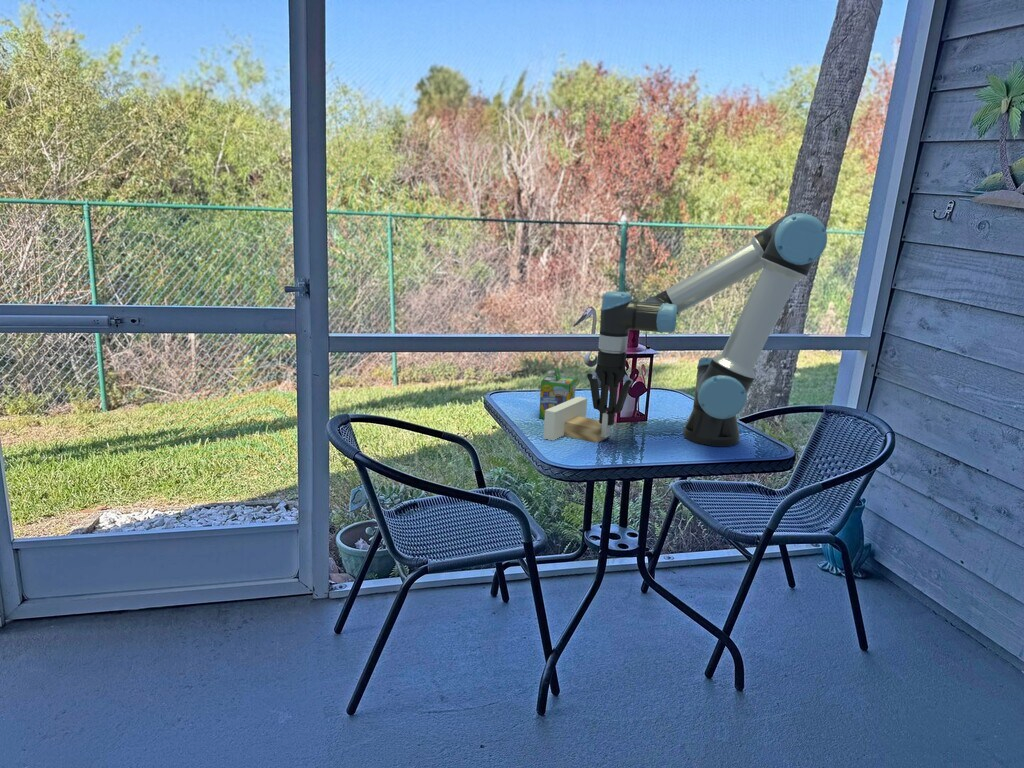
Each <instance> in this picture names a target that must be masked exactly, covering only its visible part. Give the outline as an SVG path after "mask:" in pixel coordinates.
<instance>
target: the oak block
mask: <svg viewBox="0 0 1024 768" xmlns="http://www.w3.org/2000/svg"><path fill="white" fill-rule="evenodd" d="M601 429H602V424H600V423H599V420H598V419H594V418H590V417H586V418H585V417H581V416H577V417H575V418H572V419H570V420H568V421H566V422H565V429H564V435H565V436H564V437H568V436H569V438H572V437H573V439H577V438H578V440H581V439H582V440H581V441H586V442H591V443H596V444H598V443H600V442H602V441H604V440H605V439H607V438H609V437H610V435H609V436H608V437H601Z"/></svg>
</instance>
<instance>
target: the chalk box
mask: <svg viewBox="0 0 1024 768" xmlns="http://www.w3.org/2000/svg"><path fill="white" fill-rule="evenodd" d="M559 368H560V367H559V366H557V367H556V368H554V374H555V376H553V375H547V376H545V377H544V378H542V380H541V381H540V395H539V397H540V398H539V414H538V415H539V417H538V419H540V420H541V419H543V420H545V410H547V409H549V408H552V407H554V406H556V405H559V404H561V403H564V402H566V401H568V400H571V399H573V398H576V385H577V384H576V383H577V379H576V378H572V377H571V378H570V377H564V376H561V375H560V374H561V373H560V369H559Z"/></svg>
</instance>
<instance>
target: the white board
mask: <svg viewBox="0 0 1024 768" xmlns="http://www.w3.org/2000/svg"><path fill="white" fill-rule="evenodd" d="M587 407H588V398H587V397H585V396H575V398H573V399H571V400H568V401H566V402H564V403H561V404H559V405H556V406H554V407H552V408H549V409H547V410H545V419H543V420H544V423H543V435H542V439H543V440H546V439H548V440H547V441H551V440H552V442H554V441H556V440H558V439H560V438H562V437H563V436H564V429H565V422H566V421H568V420H570V419H572V418H575V417H577V416H581V417H585V418H587ZM561 436H562V437H561ZM559 437H560V438H559ZM564 437H565V436H564ZM557 438H558V439H557ZM555 439H556V440H555ZM553 440H554V441H553Z"/></svg>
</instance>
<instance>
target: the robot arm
mask: <svg viewBox="0 0 1024 768" xmlns="http://www.w3.org/2000/svg"><path fill="white" fill-rule="evenodd" d="M827 243H828V233H827V229H826V227H825V225H824V224H823V222H822V221H821V220H820V219H818V218H817V217H815V216H813V215H812V214H807V213H805V212H800V213H799V212H798V213H792V214H786V215H784V216H781V217H780V218H778V219H777V220H776V221H775V222H773V223H772V224H771V225H769V226H768V227H766V228H765V229H764V230H762V231H760V232H759V233H757V234H755V235H753V236H752V238H751V240H750V242H748V243H747V244H745V245H743V246H742V247H740V248H738V249H736V250H734V251H733V252H731V253H729V254H727V255H725V256H723V257H722V258H720V259H718V260H716V261H714V262H713V263H712V264H709V265H707V266H706V267H703V269H700V270H698V271H697V272H695V273H693V274H691V275H690V276H688V277H686V278H684V279H683V280H681V281H679V282H677V283H675V284H674V285H671V286H670V287H668V288H667V289H664V290H663V291H661V292H659V293H657V294H655V295H653V296H650V297H649V298H646V299H645V301H637V300H633V298H632V294H631V293H630V292H626V291H625V292H624V291H607V292H605V293H604V294H603V296H602V302H601V307H600V308H601V309H600V319H599V320H600V322H599V324H600V325H599V335H598V349H599V350H598V351H597V362H596V363H597V365H596V367H595V370H594V371H592V372H591V371H590V372H589V373H587V374H586V378H587V379H588V382H589V386H590V393H591V398H592V399H591V400H592V406H593V409H594V410H598V412H599V418H598V419H599V423H600V424H602V429H601V437H607V438H609V437H610V436H611V426H613V425H614V423H615V416H616V414H618V413H620V412H622V411H623V408H624V405H625V402H626V400H627V396H628V394H629V391H630V387H631V386H632V384H634V383H635V380H634V379H633V378H630V377H629V376H628V375H627V371H626V370H627V369H626V366H627V365H626V363H627V350H628V341H629V340H628V339H629V330H631V331H641V332H642V331H643V332H654V333H660V334H664V333H671V334H672V333H674V332H675V331H676V327H677V317H678V315H679V314H681V313H682V312H684V311H686V310H688V309H690V308H692V307H694V306H696V305H698V304H699V303H701V302H704V301H705V300H707V299H709V298H710V297H712V296H714V295H716V294H717V293H720V292H722V291H724V290H726V289H727V288H730V286H733V285H734V284H737V283H738V282H740V281H742V280H744V279H746V278H747V277H749V276H751V275H753V274H754V273H757V272H759V271H761V270H762V271H761V272H760V274H759V276H758V278H757V280H756V282H755V285H754V286H753V288H752V291H751V292H750V295H749V297H748V299H747V300H746V302H745V305H744V306H743V308H742V311H741V313H740V315H739V316H738V319H737V321H736V323H735V326H734V327H733V330H732V332H731V333H730V335H729V337H728V340H727V342H726V344H725V346H724V347H723V349H722V351H721V354H718V355H716V356H712V357H706V356H703V357H701V358H699V359H698V364H697V367H696V369H697V372H696V379H695V388H694V389H695V390H694V399H693V407H692V411H691V413H690V414H689V417H688V419H687V421H686V423H685V426H684V429H683V437H684V438H686V440H689V441H691V442H694V443H697V444H700V445H704V444H705V445H706V446H711V445H712V447H731V446H730V445H733V446H735V444H736V445H738V444H739V443H738V442H740V430H739V425H738V420H737V415H738V414H739V413H741V412H742V410H743V409H744V407H745V406H746V403H747V397H748V392H749V391H750V388H751V387H752V385H753V383H754V380H755V379H756V374H755V371H754V367H755V364H756V363H757V361H758V358H759V357H760V355H761V353H762V351H763V349H764V347H765V345H766V342H767V341H768V339H769V338H770V335H771V333H772V331H773V329H774V327H775V325H776V324H777V321H778V320H779V317H780V316H781V313H782V311H783V309H784V307H785V305H786V303H787V302H788V299H789V297H790V296H791V294H792V293H793V290H794V288H795V286H796V284H797V282H798V281H800V280H803V279H805V278H807V277H808V274H809V273H810V271H811V268H812V267H813V265H814V263H815V261H816V260H818V259H819V258H820V256H821V255H822V254H823V253H824V252H825V249H826V246H827ZM598 379H599V381H600V387H599V381H598ZM621 382H622V384H623V385H622V386H621V389H620V393H619V395H618V389H619V385H620V383H621ZM608 436H609V437H608ZM737 443H738V444H737Z"/></svg>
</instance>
